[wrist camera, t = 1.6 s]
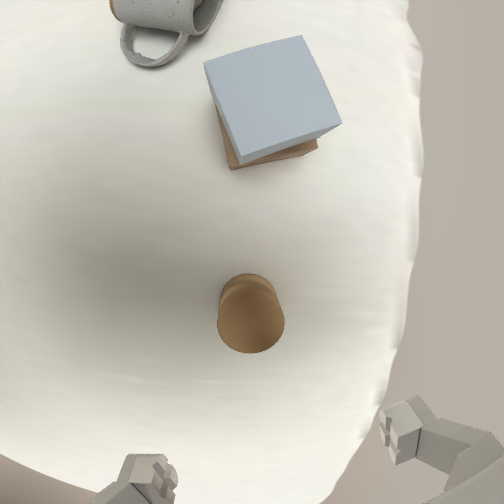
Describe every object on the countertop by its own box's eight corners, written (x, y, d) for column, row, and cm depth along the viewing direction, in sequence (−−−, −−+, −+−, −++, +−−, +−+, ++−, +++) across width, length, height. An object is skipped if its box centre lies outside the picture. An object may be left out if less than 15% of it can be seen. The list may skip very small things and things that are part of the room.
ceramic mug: (152, -18, 19) (132, -61, 12) (229, -10, 20) (227, -59, 12) (109, 66, 21) (71, 34, 14) (190, 78, 22) (172, 39, 15)
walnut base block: (230, 170, 24) (229, 165, 19) (215, 102, 23) (210, 82, 18) (302, 155, 24) (318, 147, 19) (285, 89, 23) (296, 67, 18)
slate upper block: (240, 164, 19) (241, 156, 14) (210, 91, 18) (203, 62, 13) (317, 138, 19) (342, 123, 14) (286, 67, 18) (301, 35, 13)
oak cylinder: (227, 330, 27) (226, 358, 22) (214, 280, 26) (209, 301, 21) (280, 318, 27) (289, 345, 22) (269, 268, 26) (277, 286, 21)
